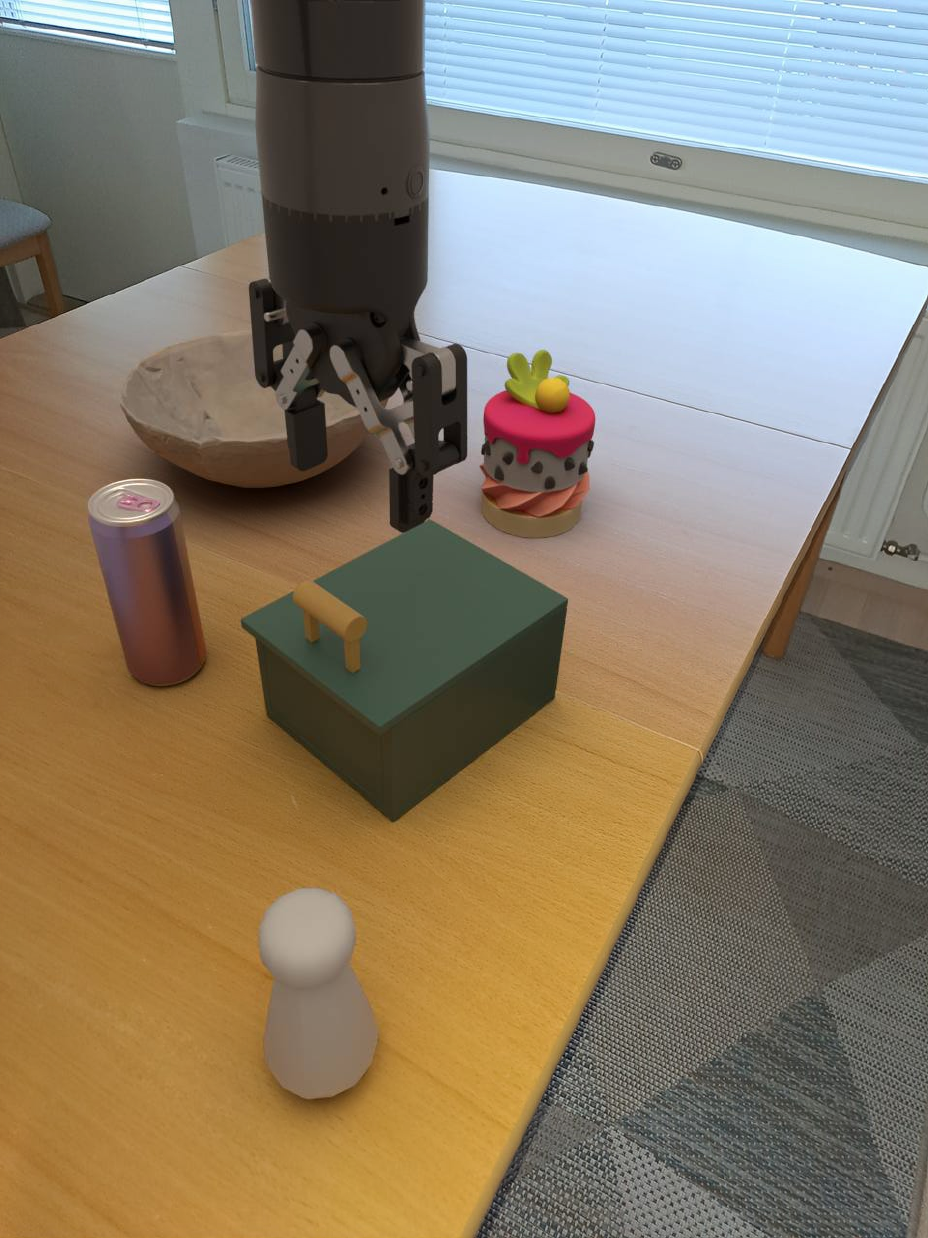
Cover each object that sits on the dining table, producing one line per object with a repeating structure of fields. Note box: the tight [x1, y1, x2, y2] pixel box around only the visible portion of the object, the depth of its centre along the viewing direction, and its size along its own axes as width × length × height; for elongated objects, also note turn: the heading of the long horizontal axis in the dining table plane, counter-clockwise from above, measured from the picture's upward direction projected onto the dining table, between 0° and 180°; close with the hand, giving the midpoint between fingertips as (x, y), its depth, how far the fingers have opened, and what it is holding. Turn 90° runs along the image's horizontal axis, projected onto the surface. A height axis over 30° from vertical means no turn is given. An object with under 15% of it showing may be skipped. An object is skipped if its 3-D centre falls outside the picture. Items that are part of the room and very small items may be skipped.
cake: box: [479, 349, 596, 539], centre depth 85 cm, size 10×10×15 cm
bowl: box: [118, 329, 390, 489], centre depth 92 cm, size 26×26×10 cm
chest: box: [254, 607, 568, 823], centre depth 66 cm, size 17×14×9 cm
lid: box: [240, 518, 569, 735], centre depth 61 cm, size 18×14×5 cm
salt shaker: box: [257, 887, 380, 1100], centre depth 44 cm, size 6×6×13 cm
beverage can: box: [87, 478, 207, 687], centre depth 66 cm, size 6×6×15 cm
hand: (357, 494), depth 51 cm, fingers open, 8 cm apart
